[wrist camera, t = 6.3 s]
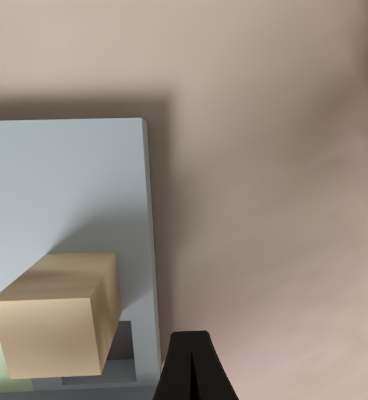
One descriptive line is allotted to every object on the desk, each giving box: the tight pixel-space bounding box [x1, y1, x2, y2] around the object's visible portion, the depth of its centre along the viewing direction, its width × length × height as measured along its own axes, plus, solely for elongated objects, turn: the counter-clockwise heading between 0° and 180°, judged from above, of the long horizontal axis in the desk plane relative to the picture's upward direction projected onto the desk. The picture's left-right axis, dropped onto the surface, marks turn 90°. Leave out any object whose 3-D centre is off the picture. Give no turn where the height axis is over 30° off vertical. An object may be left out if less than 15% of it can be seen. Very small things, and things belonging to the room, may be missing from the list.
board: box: [0, 118, 161, 400], centre depth 14 cm, size 18×16×4 cm
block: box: [0, 252, 122, 379], centre depth 11 cm, size 4×4×4 cm
